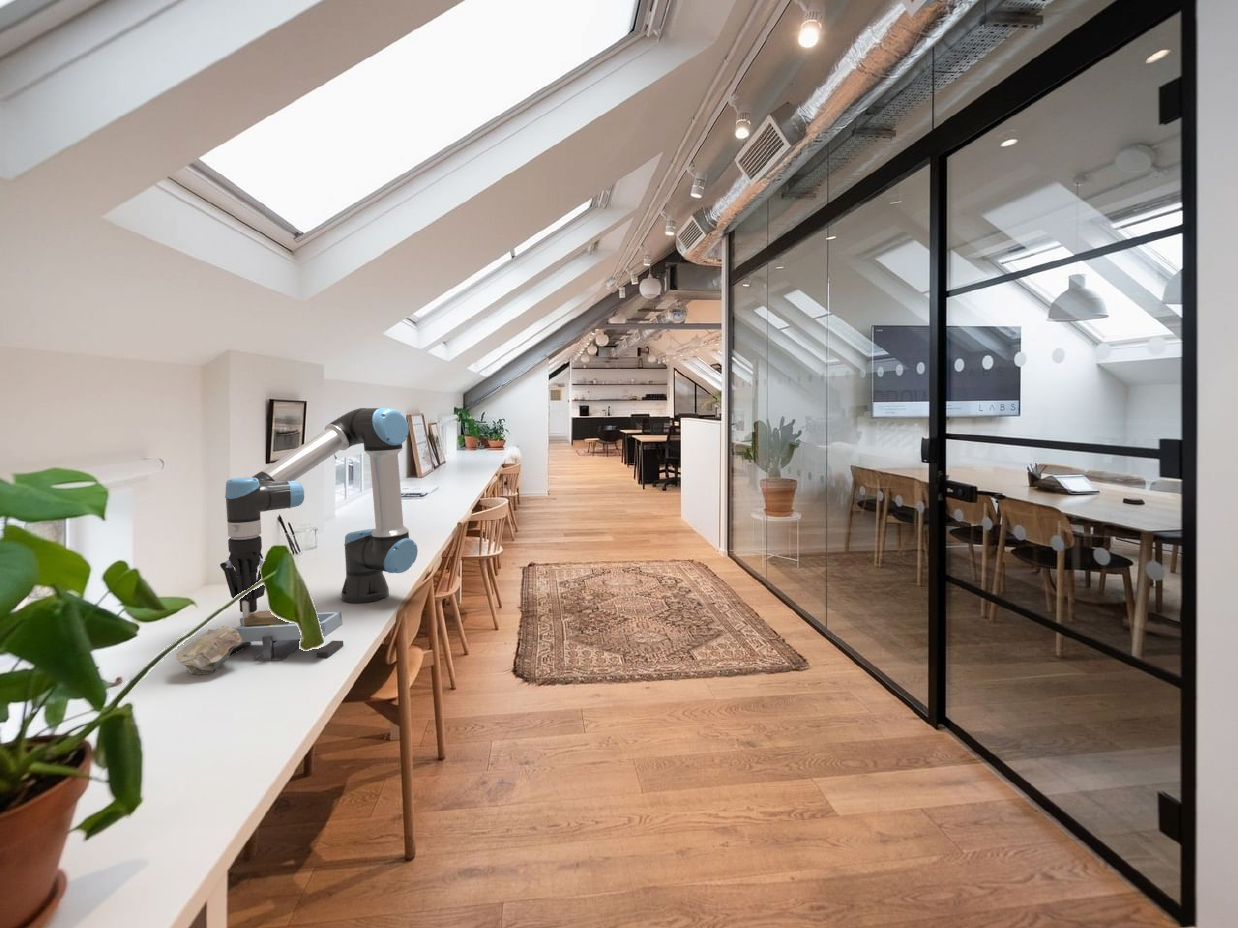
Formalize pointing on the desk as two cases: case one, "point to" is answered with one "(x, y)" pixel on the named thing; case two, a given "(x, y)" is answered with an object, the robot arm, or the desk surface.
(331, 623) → the beam
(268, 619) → the brown wooden block
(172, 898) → the desk surface
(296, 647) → the fulcrum
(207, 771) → the desk surface
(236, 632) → the stone
